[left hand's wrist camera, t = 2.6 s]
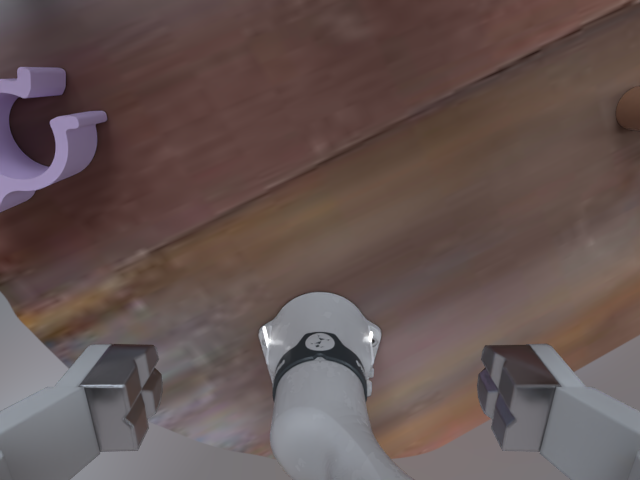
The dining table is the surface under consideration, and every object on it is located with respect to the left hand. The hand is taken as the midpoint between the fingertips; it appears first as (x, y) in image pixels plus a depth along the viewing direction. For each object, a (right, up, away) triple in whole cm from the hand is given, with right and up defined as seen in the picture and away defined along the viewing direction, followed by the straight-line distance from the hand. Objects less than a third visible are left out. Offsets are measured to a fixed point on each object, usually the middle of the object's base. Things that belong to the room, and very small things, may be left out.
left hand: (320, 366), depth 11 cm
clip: (-37, +16, +45) cm, 61 cm away
